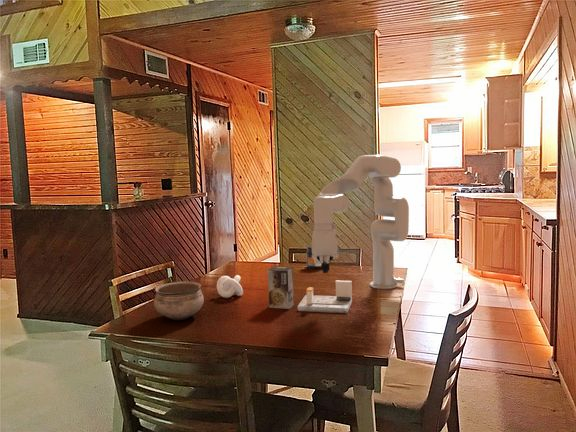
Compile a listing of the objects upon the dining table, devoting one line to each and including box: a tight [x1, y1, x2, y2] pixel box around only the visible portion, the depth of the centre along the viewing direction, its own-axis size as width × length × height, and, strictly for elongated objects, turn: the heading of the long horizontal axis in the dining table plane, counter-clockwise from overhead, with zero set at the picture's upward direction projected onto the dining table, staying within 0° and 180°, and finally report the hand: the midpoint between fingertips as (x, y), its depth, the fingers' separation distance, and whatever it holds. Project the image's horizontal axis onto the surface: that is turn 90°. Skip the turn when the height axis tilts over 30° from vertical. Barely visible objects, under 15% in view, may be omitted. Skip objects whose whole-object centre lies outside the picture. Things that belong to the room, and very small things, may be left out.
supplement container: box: [305, 244, 326, 270], centre depth 269 cm, size 10×10×12 cm
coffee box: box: [267, 266, 295, 310], centre depth 197 cm, size 9×6×16 cm
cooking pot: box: [153, 281, 205, 321], centre depth 187 cm, size 25×19×12 cm
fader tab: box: [305, 286, 314, 304], centre depth 194 cm, size 2×4×6 cm, turn 166°
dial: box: [335, 279, 353, 300], centre depth 199 cm, size 6×6×7 cm
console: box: [297, 294, 353, 314], centre depth 197 cm, size 20×16×2 cm
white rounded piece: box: [216, 274, 244, 299], centre depth 215 cm, size 11×12×9 cm
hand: (325, 272), depth 191 cm, fingers closed
